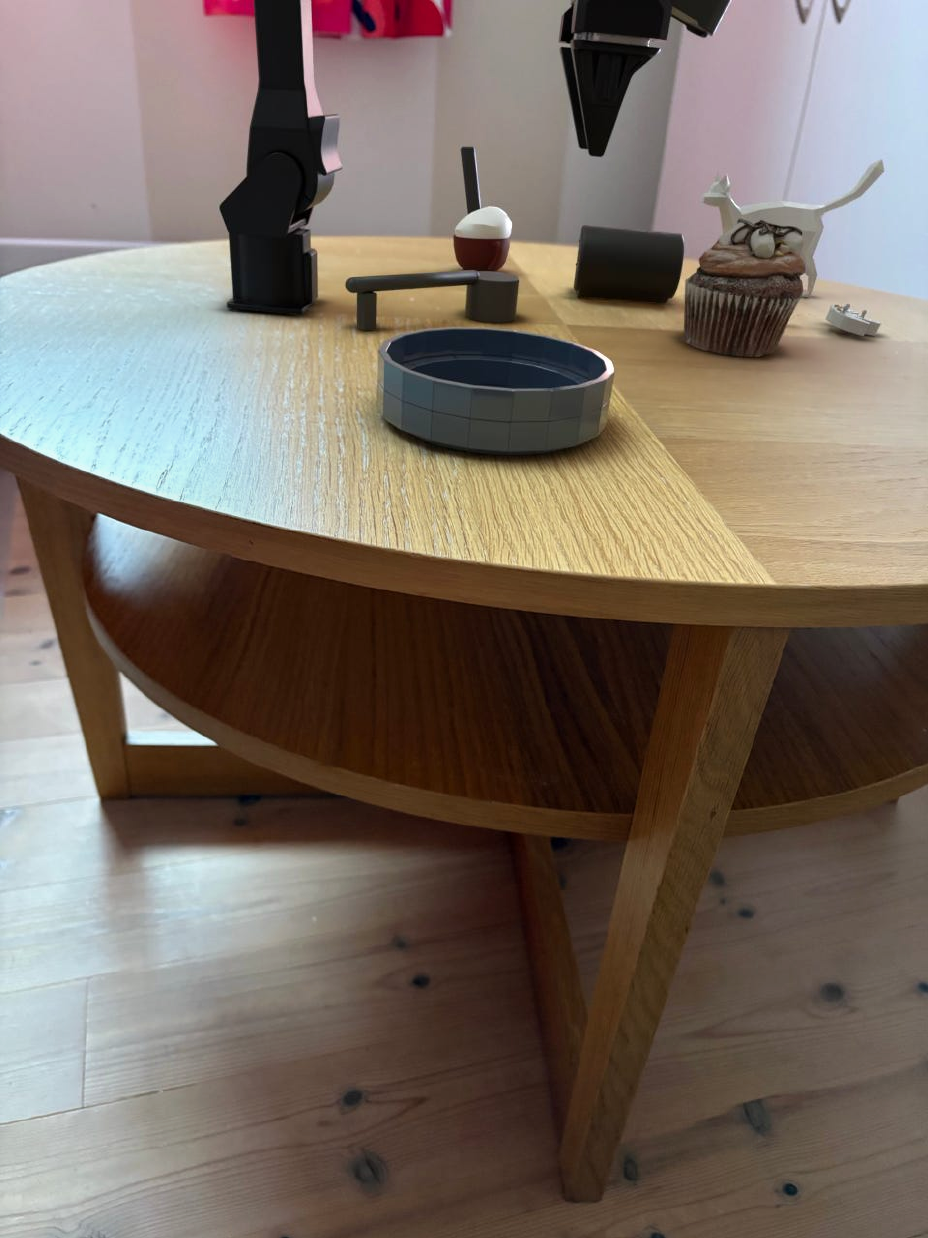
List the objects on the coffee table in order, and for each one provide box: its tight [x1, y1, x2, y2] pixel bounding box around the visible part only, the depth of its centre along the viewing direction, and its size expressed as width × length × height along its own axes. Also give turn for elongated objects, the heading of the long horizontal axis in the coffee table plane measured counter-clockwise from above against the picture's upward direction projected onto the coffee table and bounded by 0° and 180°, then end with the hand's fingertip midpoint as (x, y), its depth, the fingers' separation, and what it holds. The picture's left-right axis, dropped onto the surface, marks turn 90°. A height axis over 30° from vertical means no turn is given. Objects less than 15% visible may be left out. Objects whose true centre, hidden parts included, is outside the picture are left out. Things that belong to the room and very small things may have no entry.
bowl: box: [376, 326, 616, 456], centre depth 54 cm, size 14×14×4 cm
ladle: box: [344, 269, 520, 332], centre depth 76 cm, size 17×5×4 cm, turn 127°
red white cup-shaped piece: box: [452, 146, 513, 272], centre depth 97 cm, size 10×6×12 cm, turn 1°
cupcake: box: [683, 219, 806, 358], centre depth 75 cm, size 10×10×10 cm
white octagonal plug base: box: [788, 303, 882, 337], centre depth 84 cm, size 6×12×3 cm, turn 100°
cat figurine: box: [700, 158, 885, 298], centre depth 97 cm, size 4×20×14 cm, turn 99°
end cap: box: [573, 224, 685, 305], centre depth 89 cm, size 10×7×7 cm
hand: (590, 152), depth 70 cm, fingers open, 9 cm apart
